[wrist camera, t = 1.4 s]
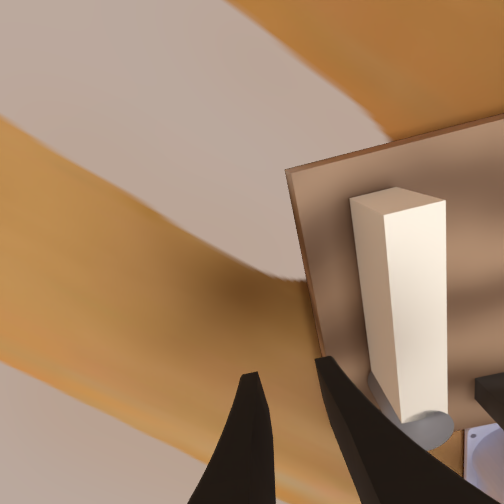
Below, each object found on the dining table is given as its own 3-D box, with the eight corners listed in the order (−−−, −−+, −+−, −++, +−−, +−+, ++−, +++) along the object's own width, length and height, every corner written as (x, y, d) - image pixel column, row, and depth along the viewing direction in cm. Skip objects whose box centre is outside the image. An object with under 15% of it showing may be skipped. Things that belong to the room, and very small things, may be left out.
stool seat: (597, 370, 24) (706, 439, 18) (335, 424, 25) (362, 504, 19) (664, 72, 16) (885, 33, 11) (284, 169, 18) (304, 180, 12)
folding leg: (415, 390, 20) (454, 445, 17) (369, 399, 20) (398, 456, 17) (402, 185, 15) (454, 198, 12) (342, 199, 15) (375, 217, 12)
